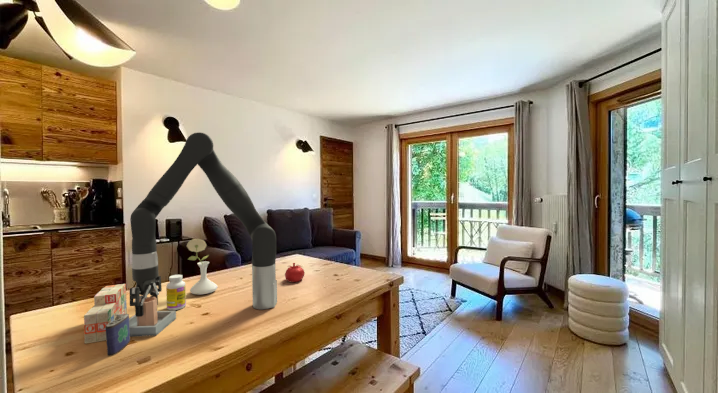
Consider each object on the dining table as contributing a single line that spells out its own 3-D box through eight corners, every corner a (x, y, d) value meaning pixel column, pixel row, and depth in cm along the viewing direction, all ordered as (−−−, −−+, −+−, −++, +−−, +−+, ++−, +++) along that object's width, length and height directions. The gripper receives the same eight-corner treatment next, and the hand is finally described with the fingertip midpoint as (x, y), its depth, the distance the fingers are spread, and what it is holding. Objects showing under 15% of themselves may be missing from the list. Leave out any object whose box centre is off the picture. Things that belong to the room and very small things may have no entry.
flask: (123, 340, 101) (122, 308, 100) (133, 340, 101) (132, 307, 101) (104, 356, 92) (102, 321, 91) (115, 356, 92) (114, 320, 92)
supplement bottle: (177, 311, 123) (176, 279, 123) (162, 310, 125) (161, 278, 124) (189, 304, 130) (188, 274, 129) (175, 303, 131) (174, 273, 130)
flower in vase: (221, 287, 150) (220, 236, 149) (211, 296, 139) (209, 240, 137) (194, 288, 150) (192, 236, 148) (181, 297, 138) (179, 241, 137)
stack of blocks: (108, 340, 101) (107, 303, 101) (84, 344, 99) (82, 306, 98) (127, 314, 121) (126, 282, 120) (107, 317, 118) (105, 285, 118)
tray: (176, 318, 117) (175, 310, 117) (155, 335, 104) (155, 327, 104) (139, 319, 116) (139, 311, 116) (114, 337, 103) (114, 328, 103)
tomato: (308, 279, 164) (308, 262, 163) (294, 284, 155) (295, 266, 155) (294, 276, 169) (294, 259, 168) (280, 280, 160) (280, 263, 160)
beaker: (160, 321, 113) (159, 296, 113) (151, 328, 107) (150, 302, 107) (144, 321, 113) (143, 297, 112) (134, 329, 107) (133, 303, 107)
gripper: (143, 270, 102) (146, 319, 103) (167, 259, 116) (169, 302, 117) (119, 271, 101) (122, 320, 102) (146, 260, 116) (148, 303, 117)
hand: (147, 310), depth 110 cm, fingers open, 8 cm apart
